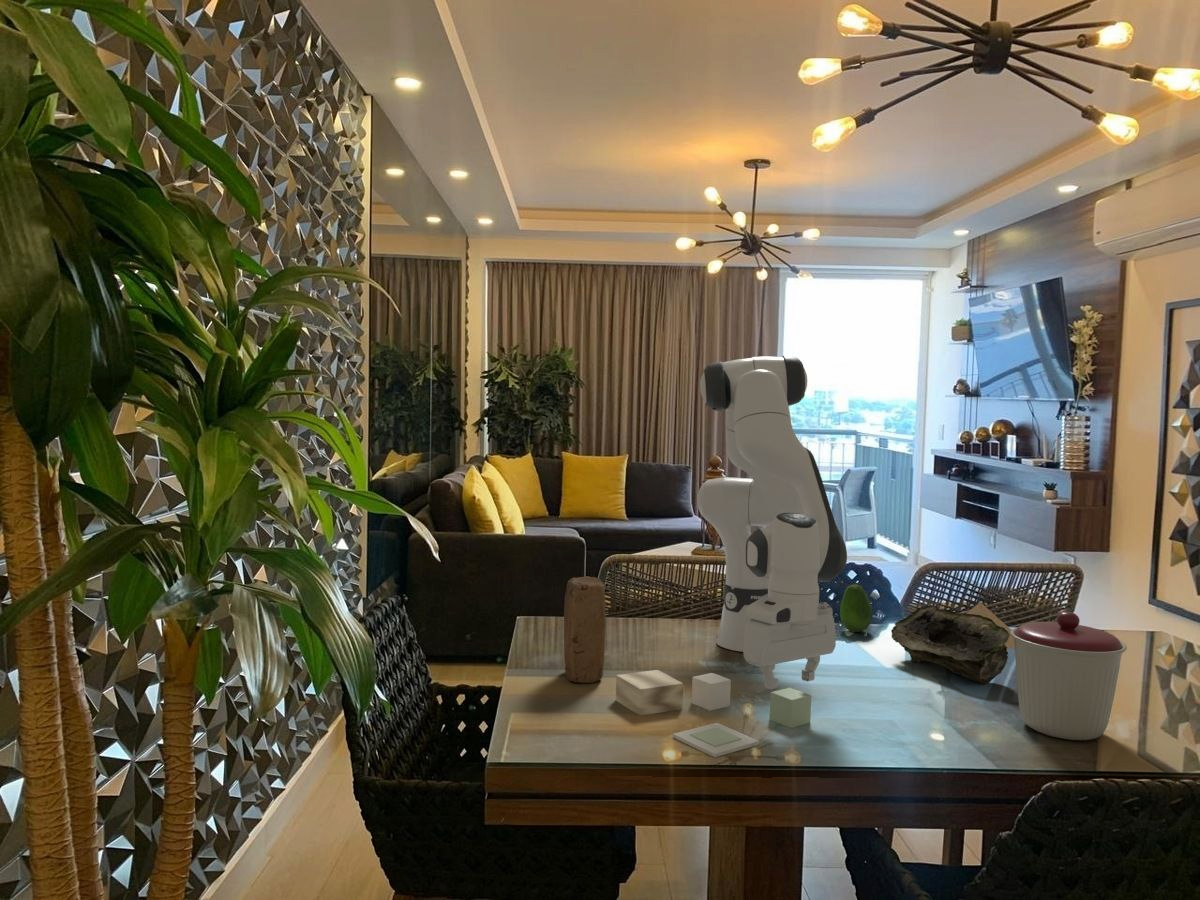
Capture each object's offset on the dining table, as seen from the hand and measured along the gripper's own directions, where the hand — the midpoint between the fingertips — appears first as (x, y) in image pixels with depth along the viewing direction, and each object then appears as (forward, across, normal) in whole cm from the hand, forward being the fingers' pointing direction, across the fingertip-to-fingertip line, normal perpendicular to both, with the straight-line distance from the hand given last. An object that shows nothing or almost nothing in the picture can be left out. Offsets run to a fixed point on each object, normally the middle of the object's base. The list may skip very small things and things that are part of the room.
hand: (789, 684), depth 157 cm
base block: (+7, +16, -20) cm, 26 cm away
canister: (+7, -39, +28) cm, 49 cm away
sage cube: (+7, -1, 0) cm, 7 cm away
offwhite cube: (+7, +5, -14) cm, 17 cm away
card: (+7, +17, 0) cm, 19 cm away
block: (+7, +17, -40) cm, 44 cm away
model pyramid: (+6, -83, -14) cm, 85 cm away
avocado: (+6, -63, -36) cm, 73 cm away
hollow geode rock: (+6, -53, -3) cm, 53 cm away
